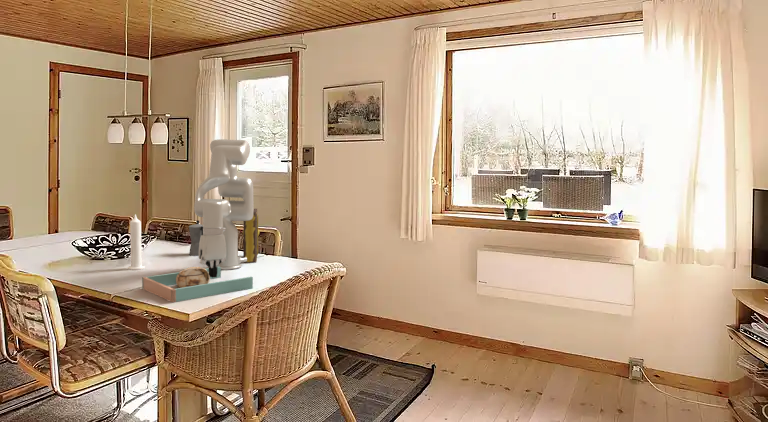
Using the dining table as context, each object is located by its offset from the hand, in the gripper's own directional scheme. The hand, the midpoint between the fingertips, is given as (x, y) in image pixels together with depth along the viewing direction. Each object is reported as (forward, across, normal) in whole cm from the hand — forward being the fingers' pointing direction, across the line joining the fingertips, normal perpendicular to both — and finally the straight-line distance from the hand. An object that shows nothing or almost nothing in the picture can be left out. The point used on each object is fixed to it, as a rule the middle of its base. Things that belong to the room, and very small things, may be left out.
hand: (213, 276), depth 220 cm
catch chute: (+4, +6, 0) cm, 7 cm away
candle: (+4, +9, -52) cm, 53 cm away
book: (+4, -44, -41) cm, 60 cm away
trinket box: (+4, +6, -5) cm, 9 cm away
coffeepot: (+4, -29, -67) cm, 73 cm away
